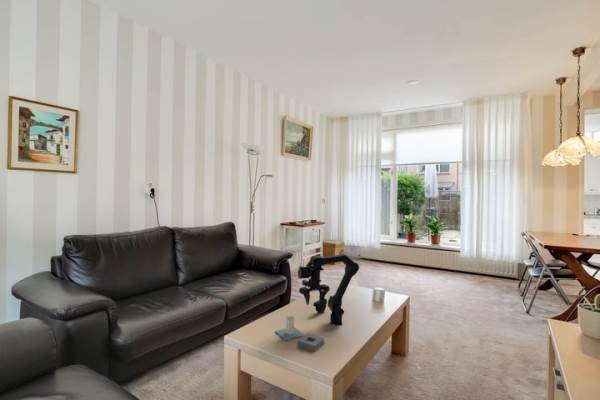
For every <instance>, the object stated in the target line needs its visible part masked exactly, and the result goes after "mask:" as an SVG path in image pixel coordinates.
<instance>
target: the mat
mask: <svg viewBox="0 0 600 400" xmlns="http://www.w3.org/2000/svg"><path fill="white" fill-rule="evenodd" d="M274 333H276V335H278V336H279V337H280V338H281V339H283V340H284V341H285V342H287V341H291V340H295V339H301V338H302V337H303V336H304V335H305V334H304V333H303V332H301V331H300V330H299V329H297V328H296V327H295V326H294V331H293V334H290V335H288V334H287V333H286V328H282V329H278V330H275V331H274Z"/></svg>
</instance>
